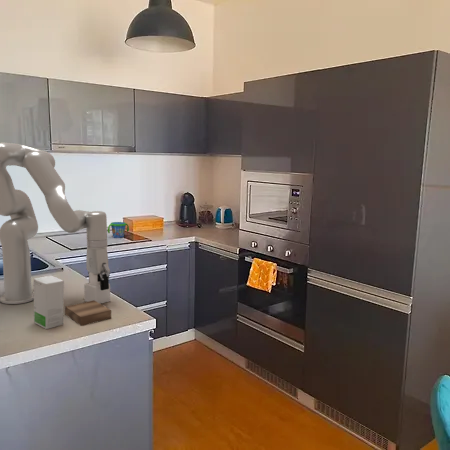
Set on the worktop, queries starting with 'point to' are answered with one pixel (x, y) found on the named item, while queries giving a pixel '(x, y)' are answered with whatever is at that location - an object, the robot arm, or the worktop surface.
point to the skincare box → (48, 301)
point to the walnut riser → (87, 312)
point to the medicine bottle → (96, 290)
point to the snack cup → (118, 229)
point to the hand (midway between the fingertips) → (98, 286)
